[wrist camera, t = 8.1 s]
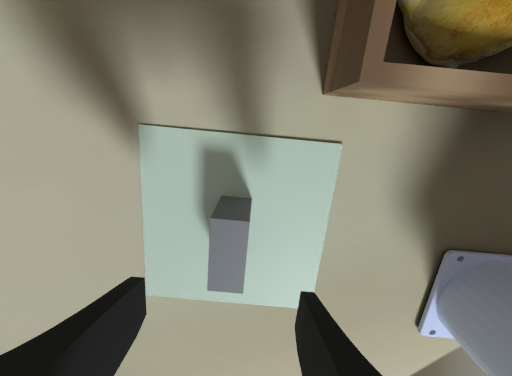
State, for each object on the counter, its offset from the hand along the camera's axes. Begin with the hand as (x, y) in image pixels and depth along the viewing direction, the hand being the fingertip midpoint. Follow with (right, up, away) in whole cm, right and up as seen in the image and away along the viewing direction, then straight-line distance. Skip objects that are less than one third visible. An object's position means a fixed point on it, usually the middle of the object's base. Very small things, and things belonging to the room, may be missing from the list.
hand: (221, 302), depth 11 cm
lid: (0, +3, +7) cm, 8 cm away
